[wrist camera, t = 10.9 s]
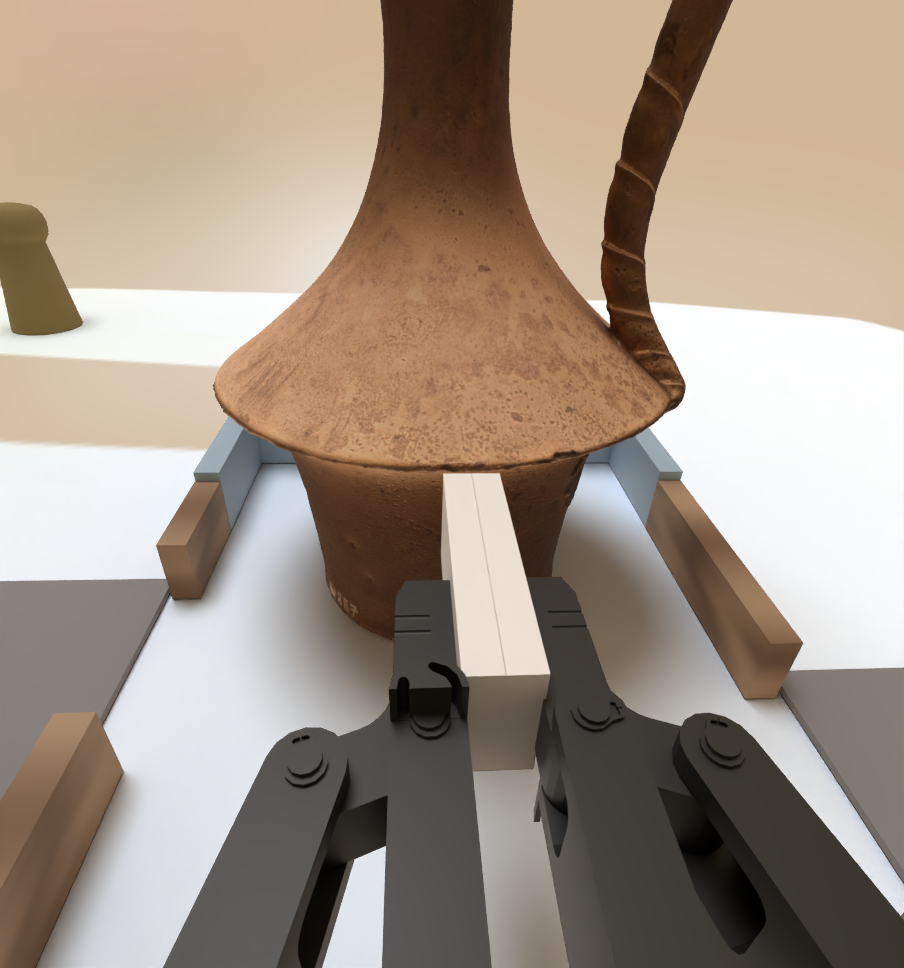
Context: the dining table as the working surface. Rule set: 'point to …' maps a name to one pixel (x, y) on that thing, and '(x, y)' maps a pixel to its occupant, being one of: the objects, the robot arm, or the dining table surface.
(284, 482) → the dining table surface
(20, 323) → the cork
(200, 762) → the dining table surface
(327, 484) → the pitcher
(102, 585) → the mat
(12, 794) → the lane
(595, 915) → the robot arm
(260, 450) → the pocket
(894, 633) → the dining table surface
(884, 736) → the mat
